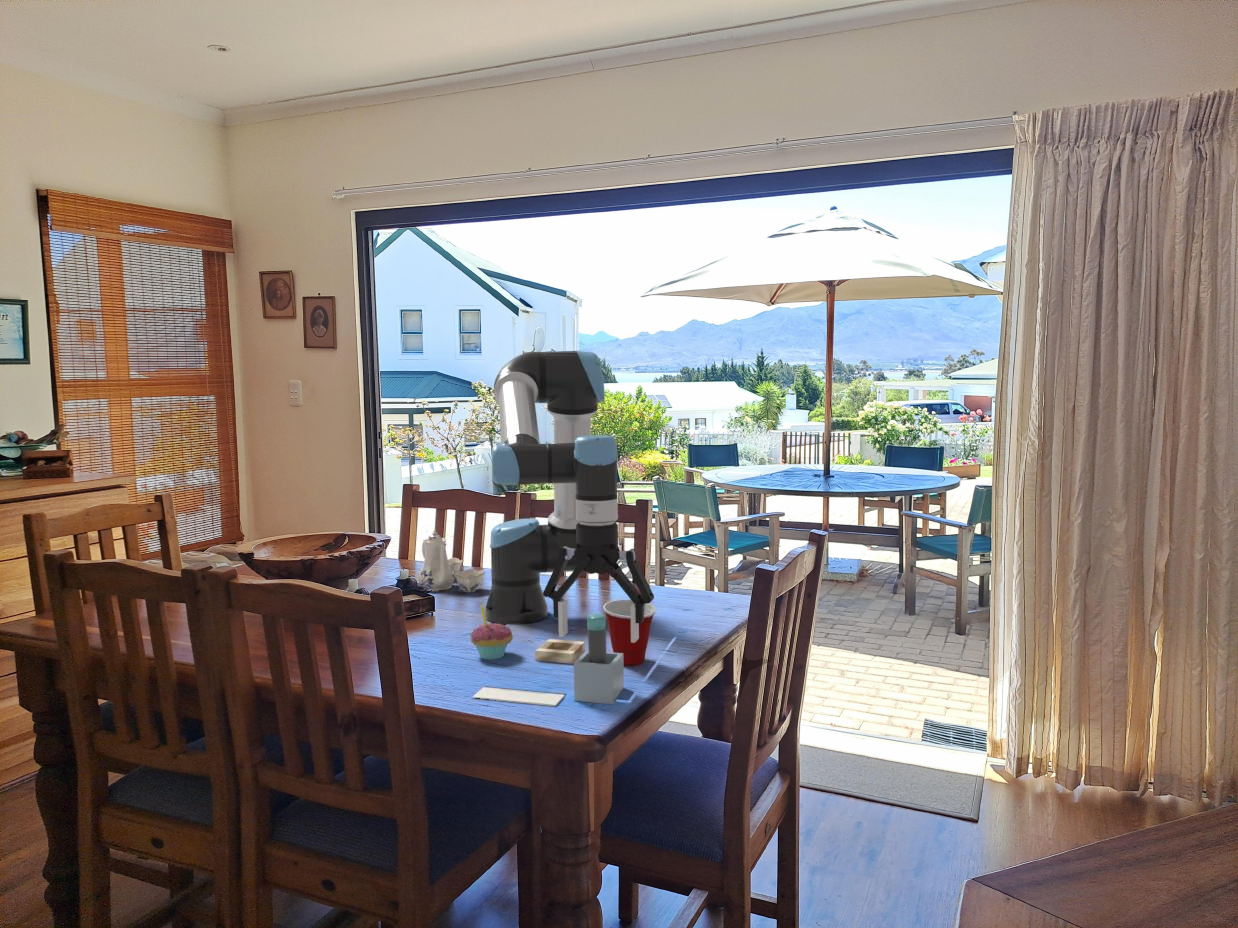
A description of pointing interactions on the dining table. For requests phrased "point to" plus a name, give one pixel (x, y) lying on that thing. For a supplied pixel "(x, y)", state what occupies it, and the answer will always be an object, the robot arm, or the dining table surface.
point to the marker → (597, 638)
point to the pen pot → (598, 679)
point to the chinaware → (445, 568)
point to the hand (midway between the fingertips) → (598, 637)
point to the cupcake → (491, 638)
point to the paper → (519, 696)
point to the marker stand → (560, 651)
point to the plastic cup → (628, 630)
